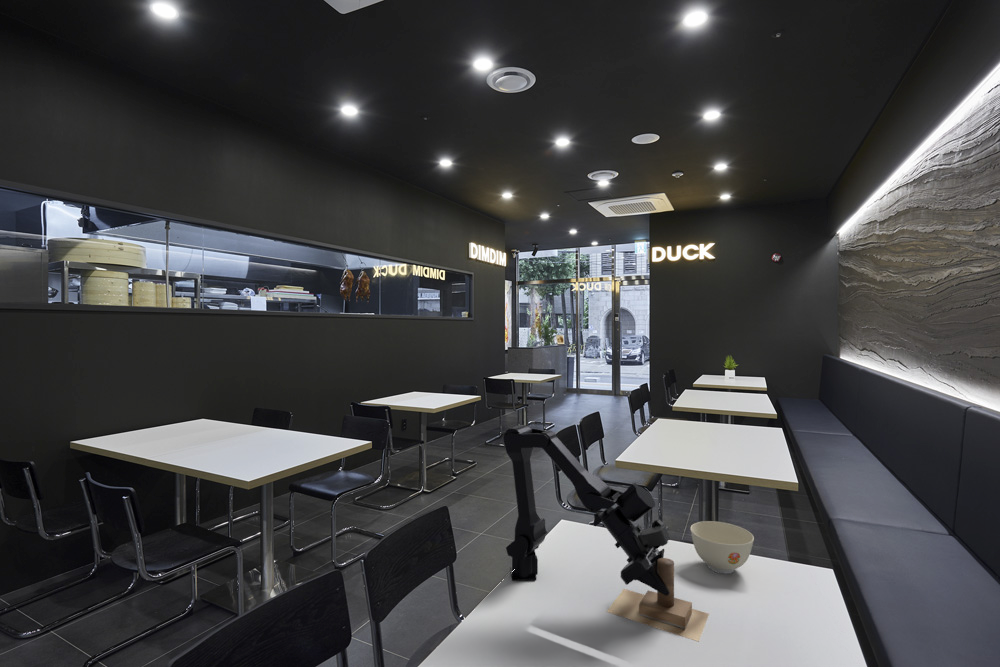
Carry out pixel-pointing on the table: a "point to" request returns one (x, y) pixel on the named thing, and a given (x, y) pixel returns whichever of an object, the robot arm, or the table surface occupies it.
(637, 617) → the oak board
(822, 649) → the table surface
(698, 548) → the bowl
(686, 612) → the block
